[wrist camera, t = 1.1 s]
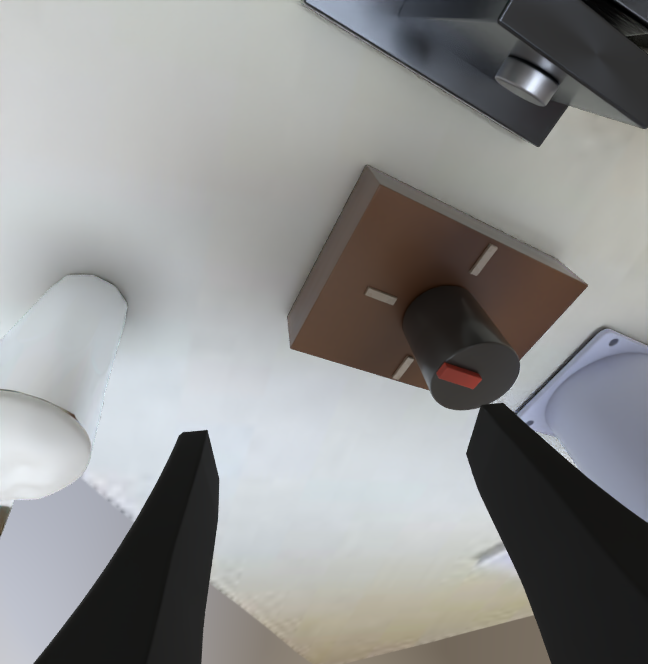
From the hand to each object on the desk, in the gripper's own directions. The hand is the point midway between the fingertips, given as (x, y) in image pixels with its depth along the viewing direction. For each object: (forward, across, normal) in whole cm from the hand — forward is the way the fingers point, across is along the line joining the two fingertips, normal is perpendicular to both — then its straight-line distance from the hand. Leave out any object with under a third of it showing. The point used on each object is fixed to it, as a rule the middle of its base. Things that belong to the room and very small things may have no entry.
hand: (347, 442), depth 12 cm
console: (+10, -6, +2) cm, 12 cm away
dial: (+8, -6, +2) cm, 10 cm away
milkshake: (+10, +10, +2) cm, 15 cm away
